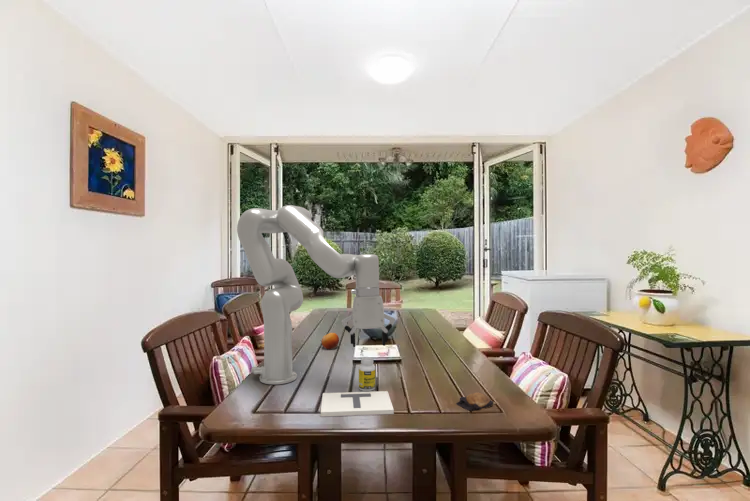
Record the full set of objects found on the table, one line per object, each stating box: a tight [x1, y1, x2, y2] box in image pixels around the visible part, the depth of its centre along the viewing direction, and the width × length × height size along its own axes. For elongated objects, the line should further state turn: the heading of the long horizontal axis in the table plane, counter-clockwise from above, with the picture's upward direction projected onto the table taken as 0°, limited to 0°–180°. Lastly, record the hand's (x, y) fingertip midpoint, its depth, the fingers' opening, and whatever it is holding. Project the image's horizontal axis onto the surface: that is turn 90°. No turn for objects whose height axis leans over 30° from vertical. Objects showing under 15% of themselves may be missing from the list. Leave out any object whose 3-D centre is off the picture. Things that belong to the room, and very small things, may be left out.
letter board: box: [320, 390, 395, 418], centre depth 117 cm, size 20×14×1 cm
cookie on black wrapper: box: [456, 392, 497, 413], centre depth 118 cm, size 11×8×4 cm
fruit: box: [320, 332, 340, 350], centre depth 181 cm, size 8×8×8 cm
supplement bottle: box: [358, 356, 376, 392], centre depth 130 cm, size 5×5×10 cm
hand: (368, 345), depth 130 cm, fingers open, 9 cm apart
